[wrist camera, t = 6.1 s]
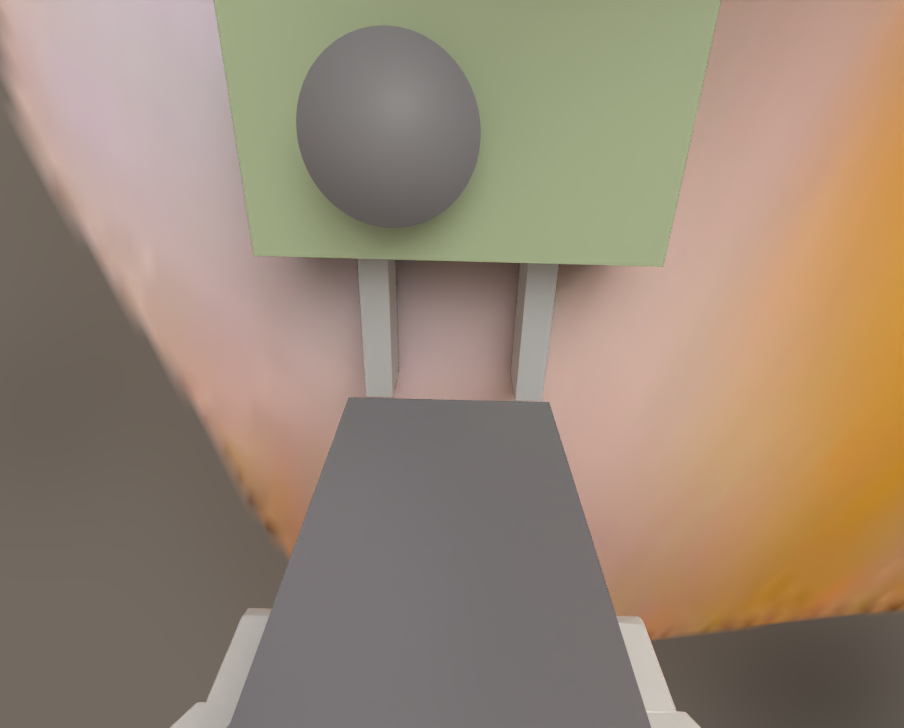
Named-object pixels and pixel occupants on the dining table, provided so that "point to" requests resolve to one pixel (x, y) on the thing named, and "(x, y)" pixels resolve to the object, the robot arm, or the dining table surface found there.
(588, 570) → the upright grey box
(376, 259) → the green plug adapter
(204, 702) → the robot arm
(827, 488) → the dining table surface
